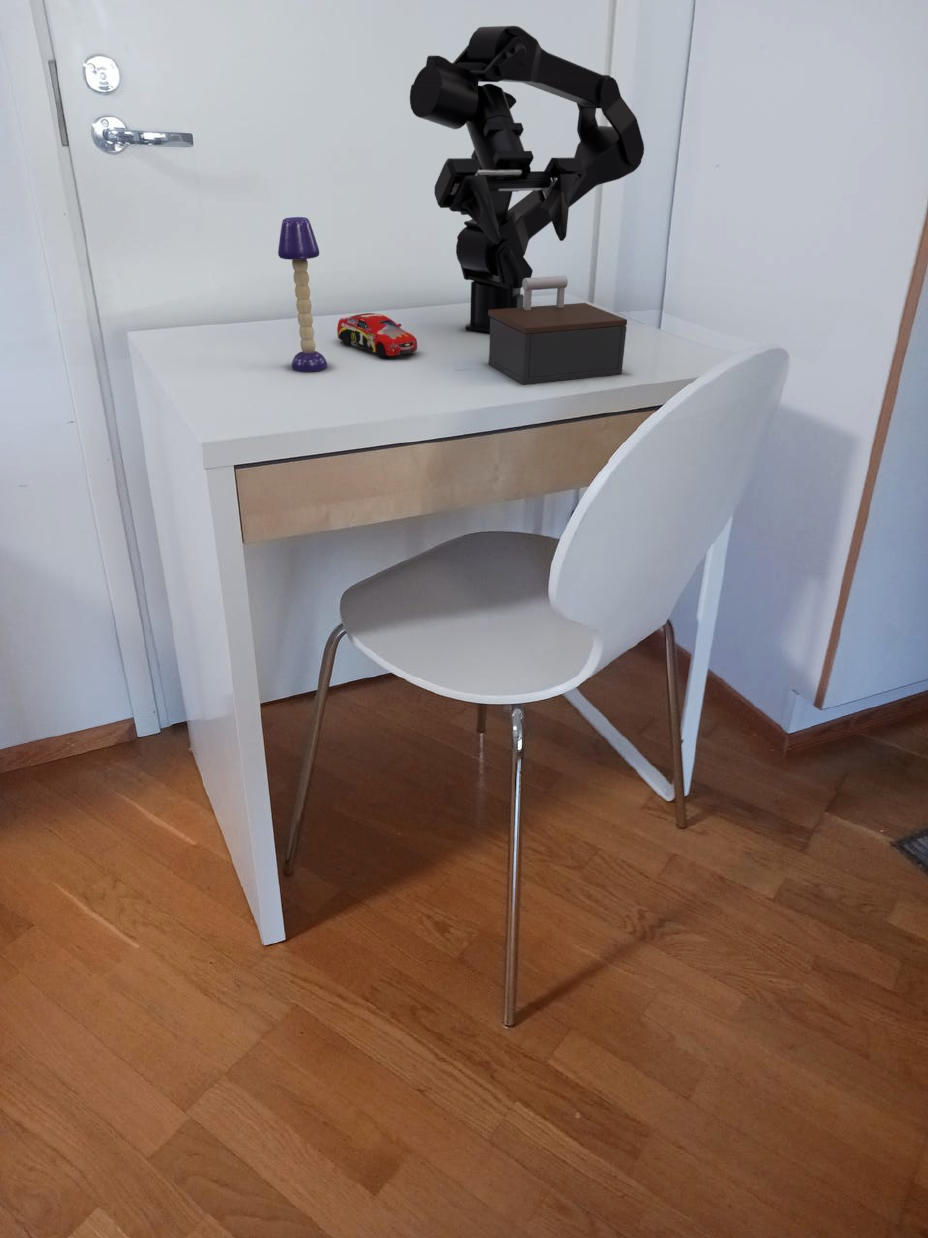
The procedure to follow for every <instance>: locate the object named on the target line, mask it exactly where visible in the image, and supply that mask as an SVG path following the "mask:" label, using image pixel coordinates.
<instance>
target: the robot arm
mask: <svg viewBox="0 0 928 1238" xmlns="http://www.w3.org/2000/svg"><path fill="white" fill-rule="evenodd" d="M485 82H486V83H485ZM500 82H504V83H505V82H507V83H518V84H519V83H521V84H525V85H527V86H531V87H533V88H535V89H538V90H541V91H543V92H546V93H549V94H552V95H554V96H557V97H560V98H561V99H562V98H563V99H565V100H568V101H571V102H573V103H575V104H576V106H577V109H578V118H577V126H576V131H577V136H578V138H579V140H580V141H579V142H578V144H577V146H576V149H575V152H574V156H573V157H571V156H570V157H550V160H549V161H548V163H547V165H546V167H545V168H544V170H537V171H536V170H534V171H533V170H532V168H531V164H532V162H533V160H534V159H535V156H534V154H533V152H532V150H525V147H524V145H523V142H522V140H521V136H522V134H523V133H524V131H525V129H524V126H523V124H522V122H515V121H514V117H513V115H512V111H511V109H512V108H513V107H514V106H515V105H516V103H517V99H516V97H514V96H513V95H512V94H511V93H509V92H506V91H504V90H503V87H500V86H498V85H497V84H494V83H500ZM479 83H485V84H482V85H479ZM620 91H621V90H620V88H619V85H618V82H617V80H616V79H615V78H614V77H612V76H611V75H608V74H601V73H599V72H596V71H594V70H591V69H589V68H586V67H584V66H582V65H579V64H577V63H574V62H572V61H570V60H567V59H565V58H562V57H560V56H557V55H555V54H553V53H550V52H548V51H546V50H545V49H543V48H542V47H541V45H540V43H539V40H538V39H536V38H535V37H534V36H533V35H532V34H530V33H529V32H527V31H526V30H524V28H522V27H520V26H517V25H498V26H497V25H495V26H480V27H478V28H477V29H476V30H475V31H474V32H473V33H472V35H471V37H470V38H469V42H468V45H467V46H466V47H465V48H464V49H463V50H462V52H461V53H459V55H458V56H457V57H456V58H455V60H453V62H451V61H449V59H447V58H445V57H443V56H441V55H427V57H426V61H425V66H424V67H423V68H421V70H419V72H418V73H417V75H416V77H415V79H414V82H413V83H412V84H411V86H410V92H409V105H410V109H411V111H412V113H413V114H414V116H416V117H418V118H420V119H422V120H426V121H428V122H431V123H435V124H436V125H437V124H438V125H441V126H443V127H446V128H449V129H452V130H458V129H461V128H463V127H464V126H465V125H466V128H467V131H468V134H469V137H470V139H471V143H472V145H473V151H472V154H471V156H470V157H449V158H447V159H446V160H445V162H444V164H443V166H442V168H441V171H440V173H439V175H438V177H437V179H436V182H435V184H434V191H433V193H434V197H435V200H436V204H437V206H438V207H439V208H440V209H449V211H451V212H453V213H454V212H459V213H460V215H461V216H467V215H468V216H469V218H471V219H469V220H465V221H464V222H463V224H464V225H465V227H463V228H462V229H461V230H460V231H459V233H458V235H457V236H456V239H457V241H456V245H455V253H456V259H457V261H458V263H459V265H460V269H461V272H462V276H463V279H464V280H465V281H471V282H470V311H469V313H470V314H469V323H468V324H466V325H465V326H464V329H465V330H467V331H468V330H469V331H475V332H484V333H490V316H488V310H494V309H507V308H521V307H524V294H522V293H521V292H522V291H521V290H522V289H523V286H522V282H523V279H524V278H532V277H533V271H534V270H533V268H532V267H531V265H530V264H529V263H528V261H527V260H526V258H525V255H526V251H527V249H528V245H529V242H530V241H531V239H532V238H534V237H535V236H536V235H537V234H538V233H539V232H541V231H542V230H543V229H544V228H545V227H547V226H549V224H551V223H552V226H553V229H554V232H555V233H556V234H555V235H556V236H557V238H558V240H559V241H560V242H564V240H565V239H566V237H567V232H568V222H569V210H570V208H571V207H572V206H573V205H574V204H576V203H577V202H578V201H580V200H581V199H582V198H583V197H584V196H586V195H587V194H588V193H590V191H592V190H593V189H594V188H595V187H598V186H600V185H603V184H607V183H610V182H613V181H618V180H620V179H623V178H624V177H626V176H628V175H630V174H632V173H634V172H635V171H636V170H637V169H638V168H639V167H640V165H641V163H642V160H643V156H644V154H645V144H644V140H643V136H642V132H641V130H640V126H639V122H638V120H637V117H636V115H635V114H634V112H633V111H632V110H631V108H630V107H629V106H628V104H627V102H626V101H625V100H624V98H623V97H622V95H621V92H620ZM597 109H601V113H602V115H603V116H604V117H605V119H606V120H607V121H608V123H609V124H610V125H609V126H608V125H607V126H606V125H599V124H598V121H597V120H598V119H597V118H596V117H597V116H596V113H597ZM527 191H528V192H529V191H530V192H529V193H528V194H526V196H524V197H523V198H522V199H520V200H518V202H516V203H515V204H514V205H512V206H511V207H510V205H511V202H512V197H513V192H514V193H518V192H527Z"/></svg>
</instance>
